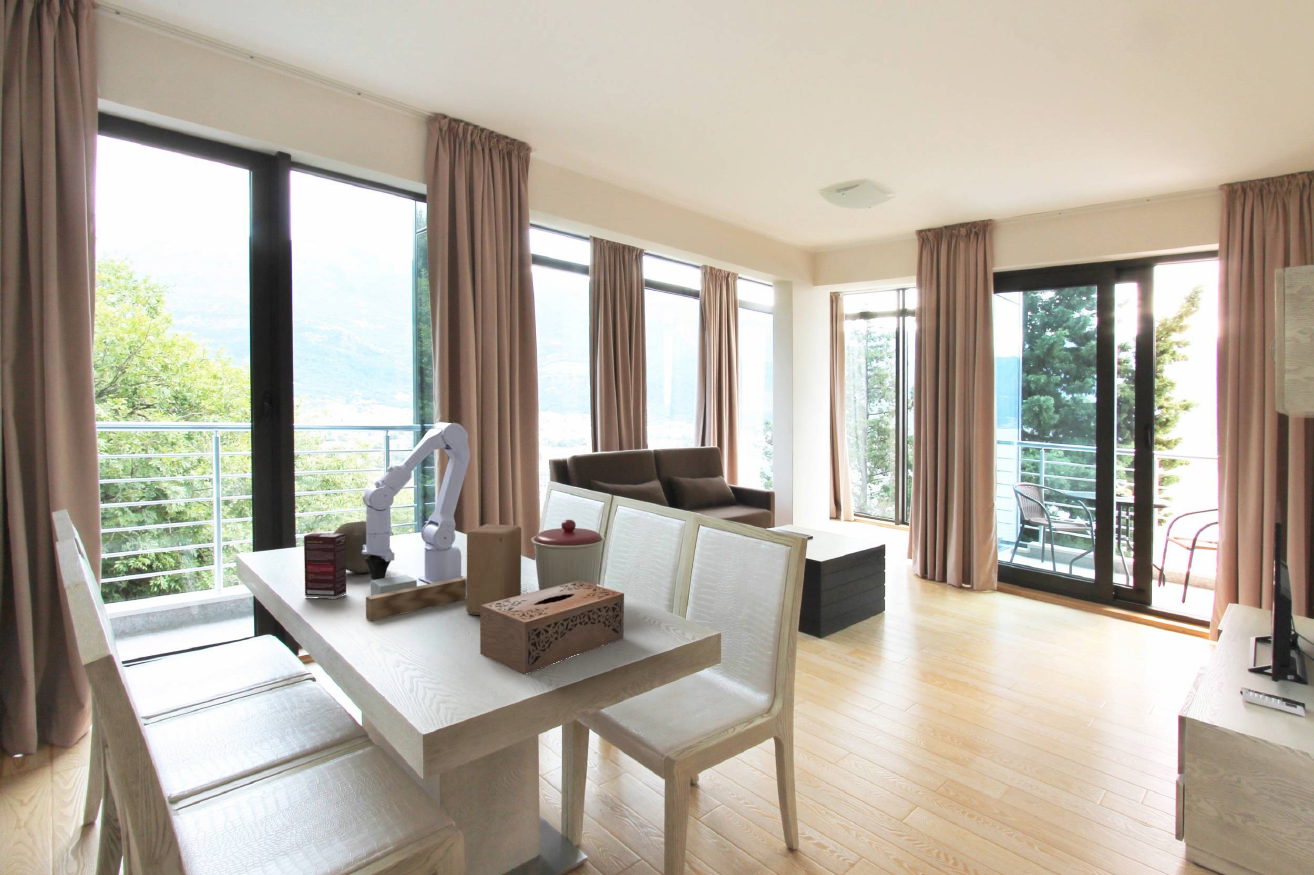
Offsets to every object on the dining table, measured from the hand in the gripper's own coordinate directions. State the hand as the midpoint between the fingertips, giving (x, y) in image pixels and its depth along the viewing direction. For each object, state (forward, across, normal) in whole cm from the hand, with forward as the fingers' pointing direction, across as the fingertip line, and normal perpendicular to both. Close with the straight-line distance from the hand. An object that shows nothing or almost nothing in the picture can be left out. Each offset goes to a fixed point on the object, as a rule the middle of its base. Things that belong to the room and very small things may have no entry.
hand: (378, 583), depth 169 cm
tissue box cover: (+2, +64, +8) cm, 64 cm away
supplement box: (+2, -3, -12) cm, 13 cm away
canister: (+2, +44, +28) cm, 52 cm away
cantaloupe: (+2, -20, +3) cm, 20 cm away
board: (+2, +22, 0) cm, 22 cm away
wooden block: (+2, +36, +12) cm, 38 cm away
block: (+2, +9, 0) cm, 9 cm away
